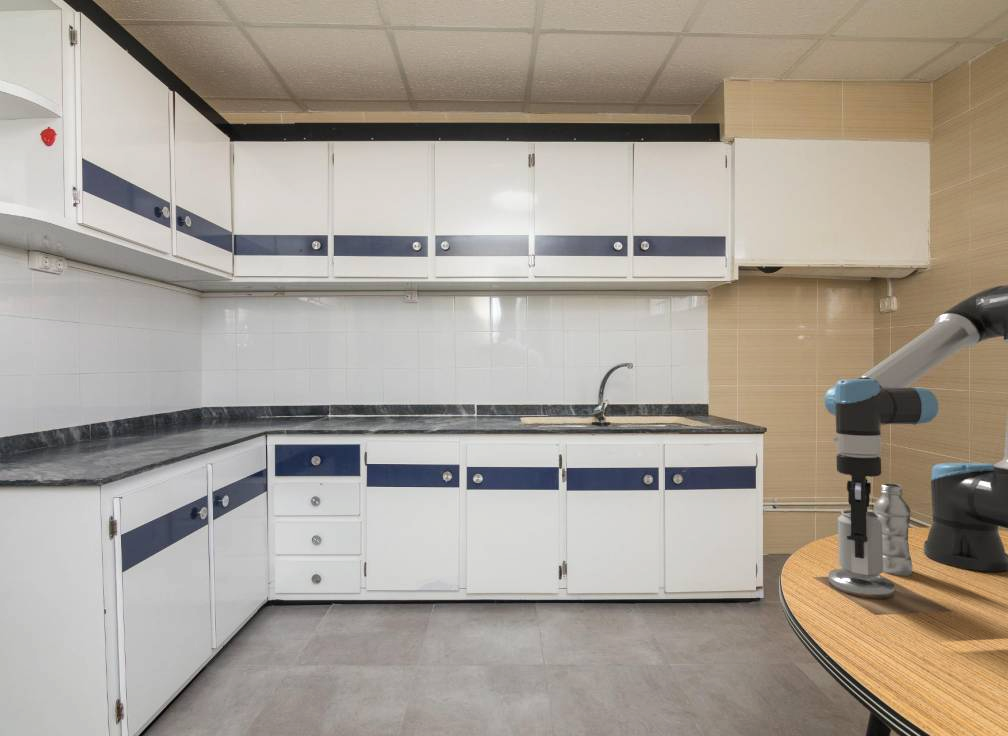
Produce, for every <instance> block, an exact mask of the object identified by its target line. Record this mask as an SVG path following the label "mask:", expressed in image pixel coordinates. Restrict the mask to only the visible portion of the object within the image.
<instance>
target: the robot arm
mask: <svg viewBox="0 0 1008 736" xmlns="http://www.w3.org/2000/svg"><path fill="white" fill-rule="evenodd" d="M999 337H1003V343H1004V344H1005V345H1007V346H1008V284H1007V285H999V286H994V287H990V288H986V289H984V290H981V291H979V292H977V293H975V294H973V295H970V296H969V297H967V298H965V299H964V300H962V301H959V303H957V304H956V305H953V306H951V307H950V308H949V309H947V310H946V311H945V312H943V313H942V314H940V315H939V316H937V318H935V320H934V323H933V325H932V326H931V327H930V328H927V330H925V331H924V332H922V333H921V334H919V335H918V336H917V337H915V338H914V339H912V340H911V341H910V342H908V343H906V344H905V345H903V346H902V347H901V348H900V349H898V350H896V351H895V352H894V353H892V354H891V355H889V356H887V358H885V359H884V360H882V361H881V362H879V363H878V364H877V365H875V366H873V367H872V368H871V369H869V370H868V371H866V372H865V373H864V374H862V375H861V376H860V377H858V378H856V379H854V378H853V379H852V378H851V379H848V378H847V379H846V378H845V379H840V380H838V381H836V383H835V386H832V387H831V388H829V389H828V390H827V391H826V393H825V394H824V399H823V400H824V401H823V402H824V407H825V409H826V410H827V412H828V413H830V415H832V416H835V432H836V436H833V437H832V441H833V442H837V443H836V452H838V454H837V455H836V471H837V472H838V473H839V474H843V475H845V476H847V475H849V476H851V480H847V483H846V491H847V492H848V494H847V496H848V505H850V510H851V535H850V536H847V539H848V540H851V566H852V572H854V573H859V574H865V575H868V541H867V540H868V539H867V528H866V511H867V512H868V508H869V507H870V499H871V498H870V495H871V494H872V493H871V489H872V483H871V482H868V479H867V477H871V478H873V477H875V478H876V477H879V476H881V475H882V458H881V457H880V456H879V455H881V454H882V434H881V431H882V430H881V428H882V427H881V426H884V425H914V426H916V425H919V424H927V423H930V422H932V421H933V420H934V419H935V418H936V417H937V415H938V413H939V401H938V399H937V396H936V395H935V394H934V393H933V392H932V391H930V390H929V389H926V388H925V387H924V388H922V387H915V386H913V387H912V386H910V385H912V384H914V382H915V381H917V380H918V379H920V378H921V377H923V376H924V375H926V374H927V373H929V372H930V371H932V370H933V369H934V368H936V367H937V366H939V365H940V364H942V363H943V362H945V361H946V360H947V359H948V358H950V357H952V356H953V355H955V354H956V353H957V352H959V351H960V350H962V349H971V348H972V347H974V346H976V345H977V344H978V343H980V342H983V341H985V340H988V339H995V338H999ZM931 469H932V470H931V478H930V485H931V486H930V487H931V490H930V491H931V509H932V524H931V526H930V529H929V532H928V535H927V539H926V540H925V541H924V542H923V543H924V544H923V554H924V555H925V556H926V557H927V558H929V559H932V560H934V561H936V562H939V563H941V564H944V565H948V566H951V567H956V568H960V569H967V570H971V571H972V570H973V571H977V572H978V571H979V572H993V573H995V572H1004V571H1005V572H1006V571H1007V570H1008V553H1007V552H1006V550H1005V547H1004V544H1003V541H1002V539H1001V538H1002V537H1000V534H999V533H1000V532H999V527H1001V528H1003V529H1004V528H1005V529H1008V412H1007V416H1006V428H1005V441H1004V454H1003V458H1002V460H999V462H997V463H994V464H993V463H988V462H987V463H985V462H984V463H983V462H943V463H942V462H941V463H937V464H935V465H934V466H933V467H932V468H931ZM856 533H859V534H856Z"/></svg>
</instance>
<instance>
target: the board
mask: <svg viewBox="0 0 1008 736" xmlns="http://www.w3.org/2000/svg"><path fill="white" fill-rule="evenodd" d="M879 575H880V576H882V575H881V574H879ZM812 578H813V579H815V580H816V581H818V582H820V584H821V583H822V584H823V585H824V586H826V587H828V588H829V589H831V590H833V591H834V592H836V593H838V594H840V595H841V596H842V597H845V598H846V599H848V600H850V601H852V602H853V603H855V604H856V605H858V606H860V607H861V608H864V609H865V610H866V611H868V612H870V613H872V614H873V615H875V616H876V615H877V616H880V615H881V616H882V615H898V614H899V615H901V614H920V613H921V614H922V613H923V614H924V613H942V612H944V613H945V612H953V610H951V609H950V608H947V607H946V606H943V605H941V604H939V603H937V602H935V601H933V600H931V599H930V598H927V597H925V596H923V595H921V594H919V593H917V592H915V591H913V590H911V589H909V588H907V587H905V586H903V585H902V584H899V583H897V582H895V581H893V580H891V579H889V580H890V581H892V582H893V583H894V597H893V598H890V599H886V600H873V599H865V598H859V597H855V596H851V595H848V594H845V593H842V592H840V591H838V590H836V589H834V588H833V587H832V586H830V584H829V576H813V577H812Z"/></svg>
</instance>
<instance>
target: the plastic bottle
mask: <svg viewBox="0 0 1008 736" xmlns="http://www.w3.org/2000/svg"><path fill="white" fill-rule="evenodd" d="M880 485H881V488H880V493H881V496H880V497H878V498H877V500H876V501H875V503H874V505H873V511H874V512H873V513H874V514H876V515H878V518H877V519H878V520H879V521H880V522H881V523H882V541H883V572H882V573H886V574H889V575H892V576H893V575H894V576H904V577H905V576H911V575H912V572H913V567H914V566H913V561H912V557H911V554H910V553H911V552H910V547H909V545H910V544H909V526H910V520H911V512H912V511H911V509H910V506H909V505H908V503H907V502H906V501H905V500H904V498H903V497H902V496H903V495H904V492H903V485H901V484H897V483H881V484H880Z"/></svg>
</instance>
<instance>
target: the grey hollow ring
mask: <svg viewBox="0 0 1008 736" xmlns="http://www.w3.org/2000/svg"><path fill="white" fill-rule="evenodd" d="M880 575H881V574H879V575H878V576H876V577H862V576H857V575H853V574H850V573H848V572H846V571H845V570H844V569H843V568H835V569H832V570H830V571H829V572H828V577H829V584H830V586H832V587H833V588H834V589H836V590H838V591H840V592H842V593H845V594H848V595H851V596H855V597H859V598H865V599H873V600H886V599H890V598H893V597H894V583H893V582H894V581H893V580H891V579H889V578H887V577H885V576H883V575H881V576H880ZM890 580H891V581H890ZM892 581H893V582H892Z"/></svg>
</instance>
